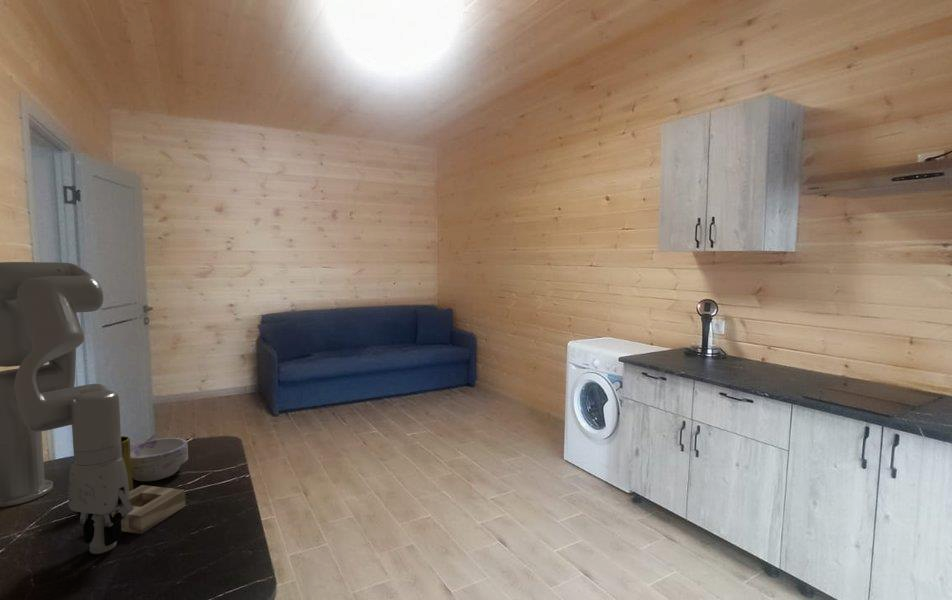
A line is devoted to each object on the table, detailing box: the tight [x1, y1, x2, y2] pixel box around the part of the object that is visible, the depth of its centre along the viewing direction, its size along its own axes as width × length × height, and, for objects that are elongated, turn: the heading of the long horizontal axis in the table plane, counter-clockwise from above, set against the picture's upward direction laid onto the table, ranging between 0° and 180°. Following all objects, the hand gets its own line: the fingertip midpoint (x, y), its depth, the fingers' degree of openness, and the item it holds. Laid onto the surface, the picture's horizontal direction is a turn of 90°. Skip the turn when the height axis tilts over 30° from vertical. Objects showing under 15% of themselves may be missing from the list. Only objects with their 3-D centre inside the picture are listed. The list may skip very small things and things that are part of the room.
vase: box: [121, 435, 135, 492], centre depth 119 cm, size 6×6×14 cm
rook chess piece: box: [88, 514, 118, 555], centre depth 97 cm, size 4×4×8 cm
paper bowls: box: [130, 437, 189, 483], centre depth 131 cm, size 15×15×8 cm
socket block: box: [111, 484, 186, 535], centre depth 109 cm, size 12×12×4 cm
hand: (103, 539), depth 97 cm, fingers closed on rook chess piece, 4 cm apart
